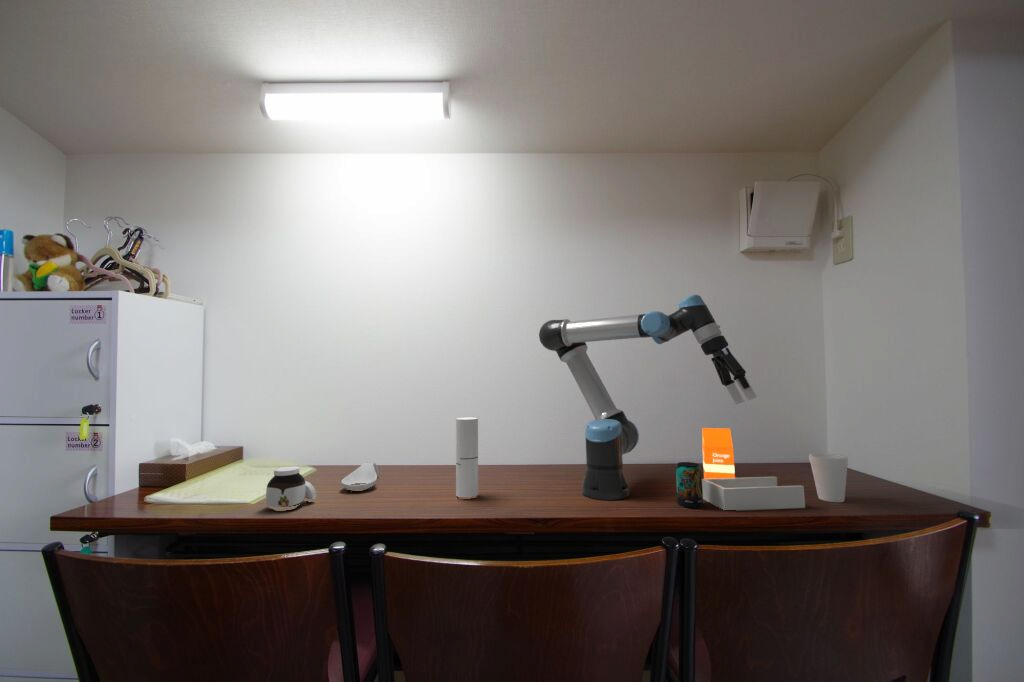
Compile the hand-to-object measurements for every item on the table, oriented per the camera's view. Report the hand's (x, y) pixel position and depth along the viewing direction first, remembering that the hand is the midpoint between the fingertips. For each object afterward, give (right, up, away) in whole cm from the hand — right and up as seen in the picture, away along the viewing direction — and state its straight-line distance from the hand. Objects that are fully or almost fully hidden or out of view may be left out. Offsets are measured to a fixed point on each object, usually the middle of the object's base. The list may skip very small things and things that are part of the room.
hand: (745, 401), depth 127 cm
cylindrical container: (-86, -32, +8) cm, 92 cm away
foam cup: (+26, -30, 0) cm, 40 cm away
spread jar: (-138, -32, 0) cm, 142 cm away
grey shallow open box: (0, -30, -3) cm, 30 cm away
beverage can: (-19, -30, -4) cm, 36 cm away
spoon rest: (-125, -34, +24) cm, 132 cm away
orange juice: (-1, -32, +14) cm, 35 cm away
